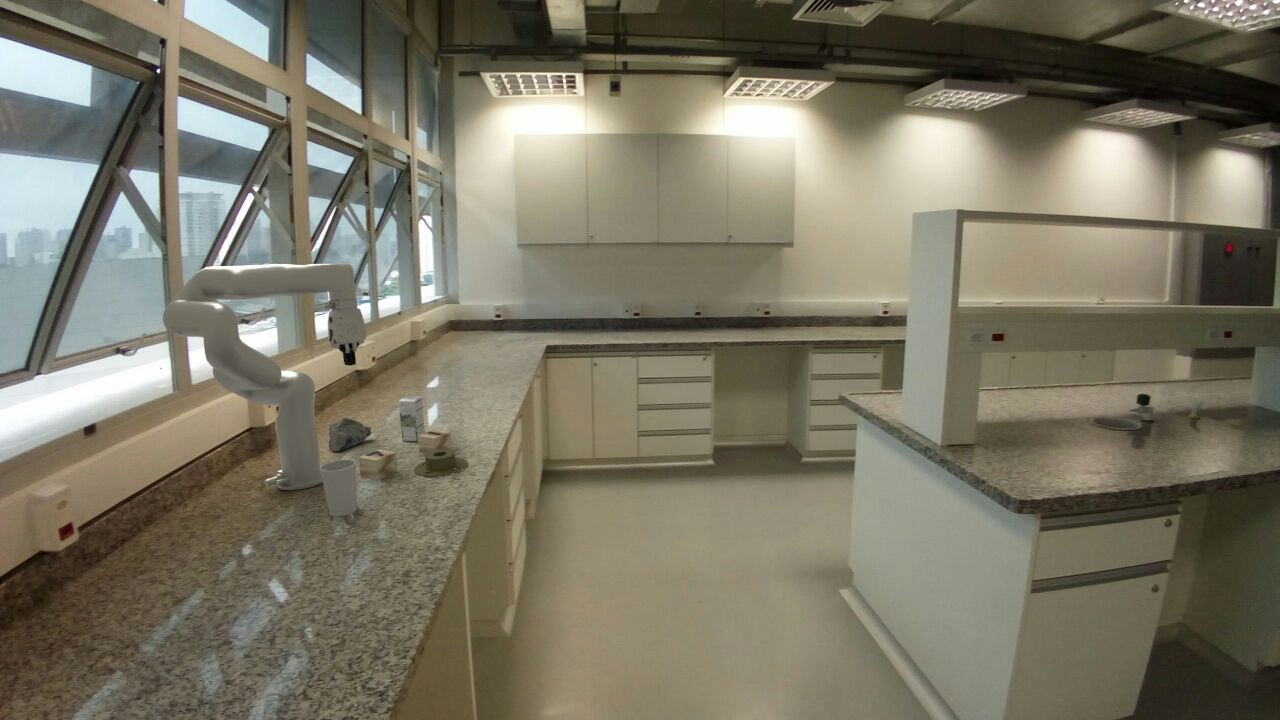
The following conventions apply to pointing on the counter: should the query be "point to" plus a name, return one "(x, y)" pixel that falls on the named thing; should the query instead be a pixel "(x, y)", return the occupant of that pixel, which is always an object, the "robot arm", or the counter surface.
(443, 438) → the numeral block one
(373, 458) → the numeral block seven
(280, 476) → the robot arm
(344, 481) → the cup
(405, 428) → the syrup box
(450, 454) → the flange
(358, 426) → the mineral rock
